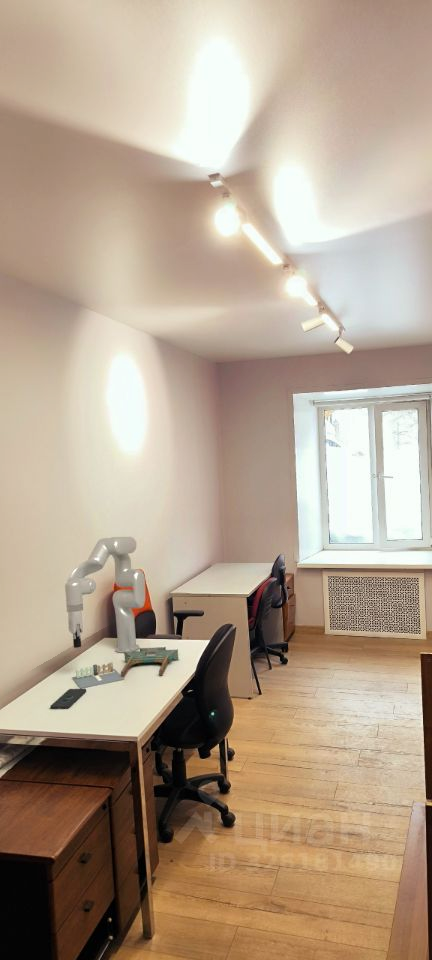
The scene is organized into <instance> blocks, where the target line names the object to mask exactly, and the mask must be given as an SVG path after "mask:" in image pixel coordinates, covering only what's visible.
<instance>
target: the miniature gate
mask: <svg viewBox="0 0 432 960" xmlns="http://www.w3.org/2000/svg"><path fill="white" fill-rule="evenodd" d="M138 650H139V651H138ZM138 650H136V651H132V652H125V651H124V653H123V654H124V663H125V664H124V667H123V668H122V669H121V671H120V675H121V677H123V678H125V677H126V675H127V673H128V671H129V670H130V668H131V667H132V666H133V665H136V664H141V663H160V664H161V665H160V668H159V669H158V674H159V676H163V675H164V673H165V670H166V668H167V666H168V665H169V662H173V661H179V660H180V659H179V649H178V648H177V649H167V646H161V647H159V646H158V647H139V649H138Z"/></svg>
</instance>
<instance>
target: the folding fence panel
mask: <svg viewBox="0 0 432 960" xmlns="http://www.w3.org/2000/svg"><path fill="white" fill-rule="evenodd" d="M89 667H90V668H88V667H85V669H84V668H80V670H79V669H75V674H76V675H75V677H76V678H79V677H84V676H86V677H87V676H89V675H91V676H92V675H93V673H94V671H93V666H89Z"/></svg>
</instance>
